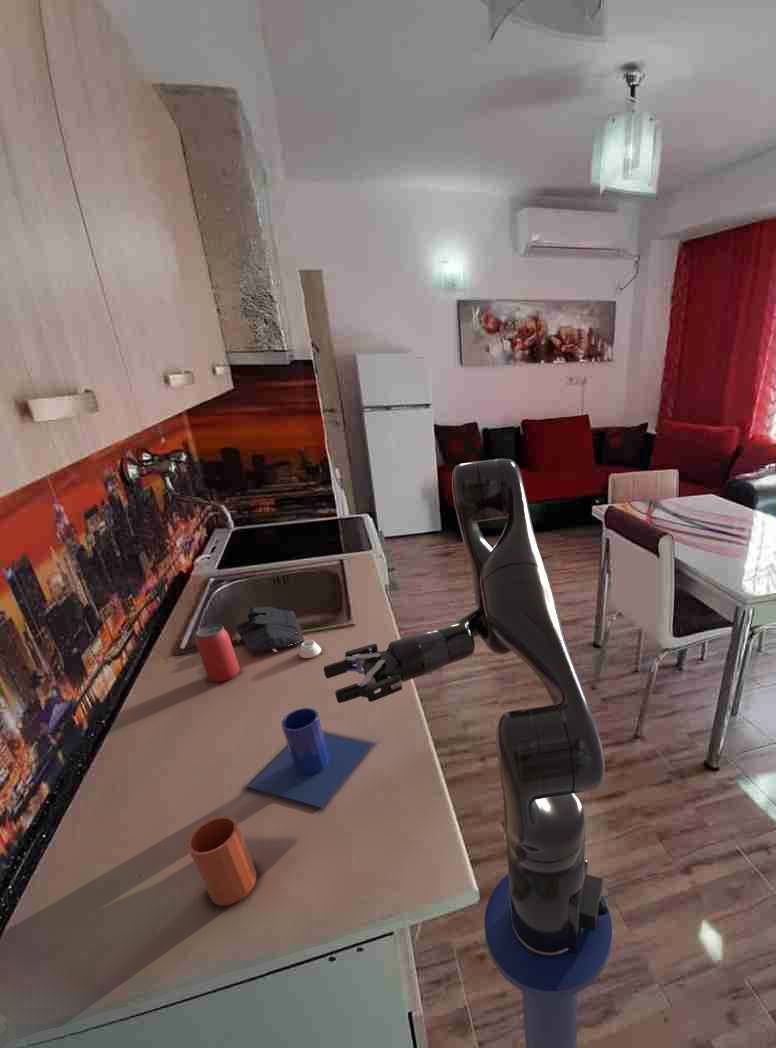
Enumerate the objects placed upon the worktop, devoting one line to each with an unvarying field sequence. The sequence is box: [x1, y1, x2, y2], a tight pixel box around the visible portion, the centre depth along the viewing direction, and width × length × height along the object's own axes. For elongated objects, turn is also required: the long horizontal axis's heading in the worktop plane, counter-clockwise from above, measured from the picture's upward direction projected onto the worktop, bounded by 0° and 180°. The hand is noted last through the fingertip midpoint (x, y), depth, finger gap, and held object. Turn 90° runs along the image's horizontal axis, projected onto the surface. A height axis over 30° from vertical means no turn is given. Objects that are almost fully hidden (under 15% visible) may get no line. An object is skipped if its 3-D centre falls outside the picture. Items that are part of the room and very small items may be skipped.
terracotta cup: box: [186, 815, 257, 906], centre depth 68 cm, size 6×6×10 cm
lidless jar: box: [298, 639, 322, 659], centre depth 124 cm, size 5×3×5 cm
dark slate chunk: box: [235, 606, 305, 654], centre depth 133 cm, size 15×22×5 cm
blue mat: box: [247, 732, 373, 809], centre depth 90 cm, size 15×15×1 cm
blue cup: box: [281, 707, 329, 776], centre depth 88 cm, size 6×6×10 cm
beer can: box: [195, 624, 241, 683], centre depth 116 cm, size 7×7×12 cm
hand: (330, 684), depth 86 cm, fingers open, 8 cm apart
